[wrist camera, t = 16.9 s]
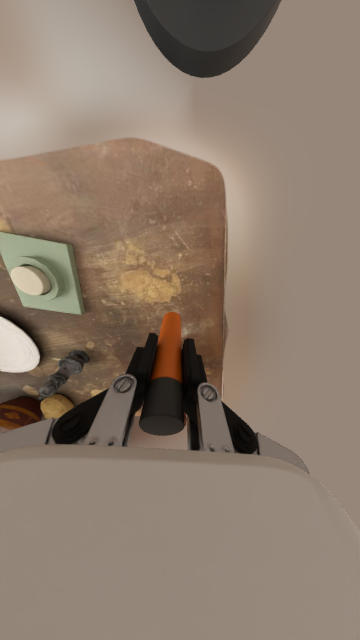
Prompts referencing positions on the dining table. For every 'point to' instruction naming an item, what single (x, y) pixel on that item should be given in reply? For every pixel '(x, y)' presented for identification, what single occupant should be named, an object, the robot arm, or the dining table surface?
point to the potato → (55, 406)
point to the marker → (165, 383)
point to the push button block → (45, 271)
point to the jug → (19, 413)
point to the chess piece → (64, 372)
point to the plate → (16, 348)
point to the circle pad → (31, 280)
